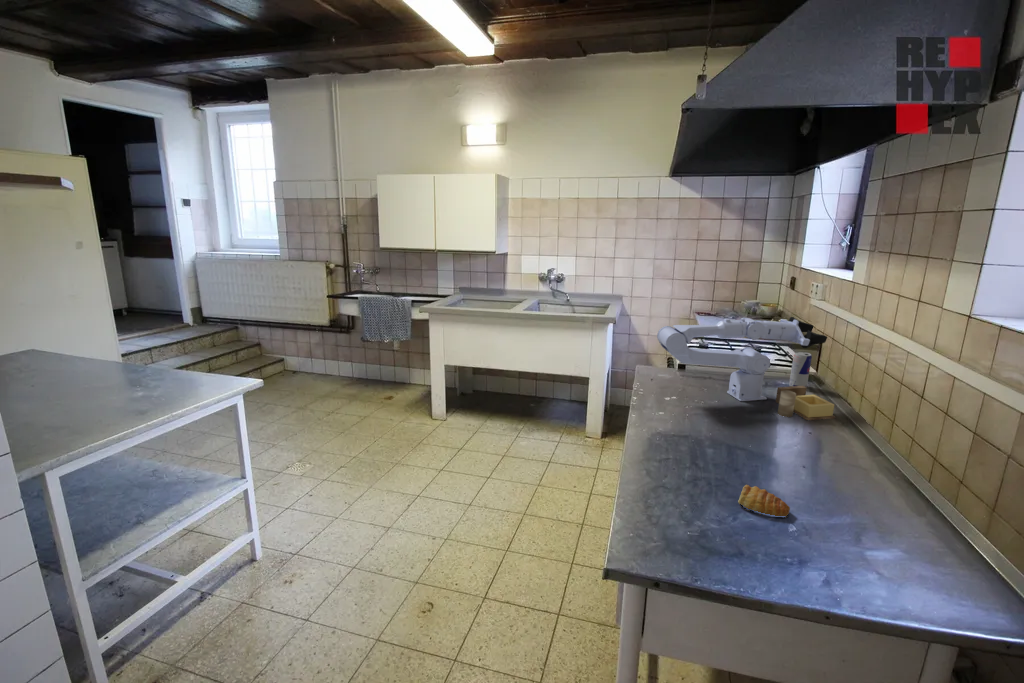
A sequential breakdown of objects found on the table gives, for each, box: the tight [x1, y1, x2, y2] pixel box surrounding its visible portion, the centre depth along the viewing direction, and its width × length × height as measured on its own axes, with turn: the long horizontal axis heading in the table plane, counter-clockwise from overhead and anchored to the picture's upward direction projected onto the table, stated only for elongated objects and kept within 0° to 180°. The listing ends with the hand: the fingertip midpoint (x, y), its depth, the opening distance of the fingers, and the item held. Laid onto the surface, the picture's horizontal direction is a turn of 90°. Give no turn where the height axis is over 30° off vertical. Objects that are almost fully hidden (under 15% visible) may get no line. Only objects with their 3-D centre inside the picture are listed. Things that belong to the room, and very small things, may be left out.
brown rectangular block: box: [775, 386, 836, 421], centre depth 150 cm, size 9×14×5 cm, turn 9°
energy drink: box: [788, 351, 813, 388], centre depth 168 cm, size 5×5×12 cm
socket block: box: [794, 394, 835, 418], centre depth 147 cm, size 8×8×4 cm
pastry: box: [737, 484, 791, 517], centre depth 102 cm, size 9×7×4 cm
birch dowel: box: [777, 390, 796, 418], centre depth 146 cm, size 4×4×7 cm
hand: (818, 333), depth 156 cm, fingers open, 7 cm apart
